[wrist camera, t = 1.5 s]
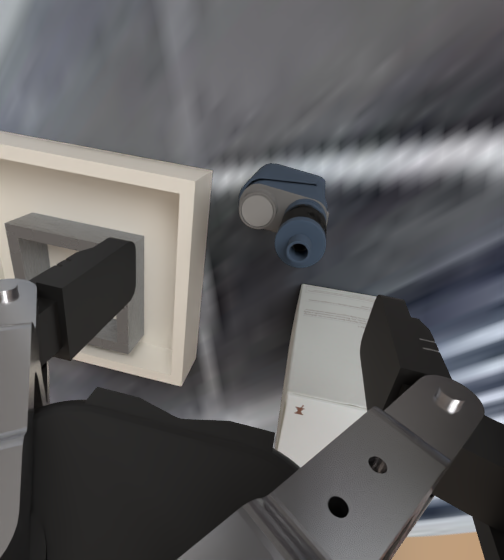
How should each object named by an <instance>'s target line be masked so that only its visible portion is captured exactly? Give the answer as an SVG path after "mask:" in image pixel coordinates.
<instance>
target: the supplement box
mask: <svg viewBox="0 0 504 560" xmlns="http://www.w3.org/2000/svg"><path fill="white" fill-rule="evenodd" d="M375 299H376V296H370V295H364V294H358V293H353V292H347V291H341V290H335V289H329V288H324V287H318V286H312V285H307V284H302V285H301V289H300V294H299V298H298V303H297V308H296V312H295V317H294V322H293V327H292V333H291V338H290V344H289V351H288V359H287V366H286V372H285V379H284V386H283V393H282V400H281V406H280V413H279V421H278V428H277V435H276V444H275V449H276V450H277V451H279V452H281V453H282V454H284V455H285V456H287V457H288V458H290V459H291V460H292V461H294V462H295V463H296V464H297V465H298V466H300V467H302V466H303V465H305V464H306V463H307V462H308V461H309V460H310V459H312V458H313V457H314V456H315V455H316V454H318V453H319V452H320V451H321V450H322V449H323V448H325V447H326V446H327V445H328V444H329V443H331V442H332V441H333V440H334V439H335V438H336V437H338V436H339V435H340V434H341V433H342V432H344V431H345V430H346V429H347V428H348V427H349V426H351V425H352V424H353V423H354V422H355V421H357V420H358V419H359V418H360V417H361V416H362V415H364V414H365V413H366V412H367V407H366V399H365V391H364V384H363V376H362V368H361V360H360V345H361V340H362V336H363V333H364V330H365V327H366V324H367V322H368V319H369V316H370V313H371V310H372V307H373V304H374V302H375Z"/></svg>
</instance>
